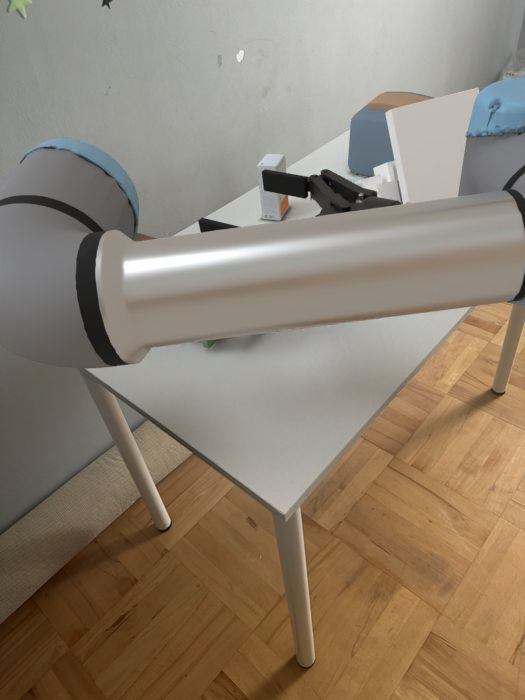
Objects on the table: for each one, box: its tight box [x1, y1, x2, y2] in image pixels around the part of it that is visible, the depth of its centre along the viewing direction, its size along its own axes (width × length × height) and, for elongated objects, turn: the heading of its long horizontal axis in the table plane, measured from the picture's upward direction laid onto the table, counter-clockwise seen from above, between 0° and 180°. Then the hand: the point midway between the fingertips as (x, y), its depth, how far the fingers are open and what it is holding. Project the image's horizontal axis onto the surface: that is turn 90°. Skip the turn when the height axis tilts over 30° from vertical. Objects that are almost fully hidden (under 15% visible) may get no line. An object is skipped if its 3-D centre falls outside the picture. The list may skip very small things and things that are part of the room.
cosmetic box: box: [256, 153, 290, 222], centre depth 105 cm, size 6×4×12 cm
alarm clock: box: [347, 91, 435, 178], centre depth 114 cm, size 16×16×16 cm
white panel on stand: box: [353, 87, 480, 204], centre depth 98 cm, size 23×16×24 cm
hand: (234, 203), depth 64 cm, fingers open, 13 cm apart
